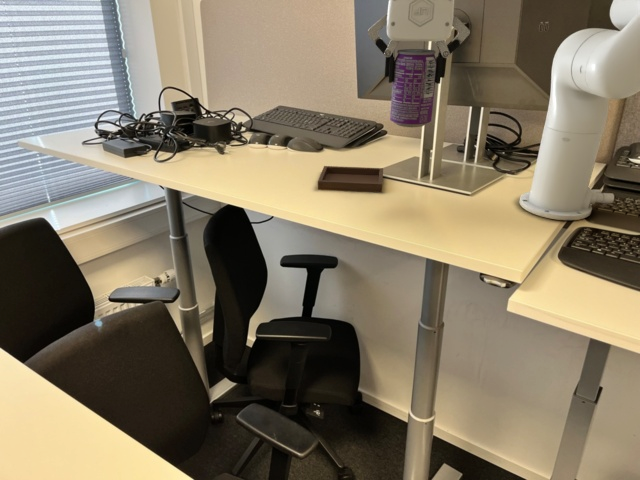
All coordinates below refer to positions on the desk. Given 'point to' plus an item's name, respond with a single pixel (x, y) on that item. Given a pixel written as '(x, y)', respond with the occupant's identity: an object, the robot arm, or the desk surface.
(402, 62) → the beverage can
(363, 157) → the desk surface
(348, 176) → the tray
